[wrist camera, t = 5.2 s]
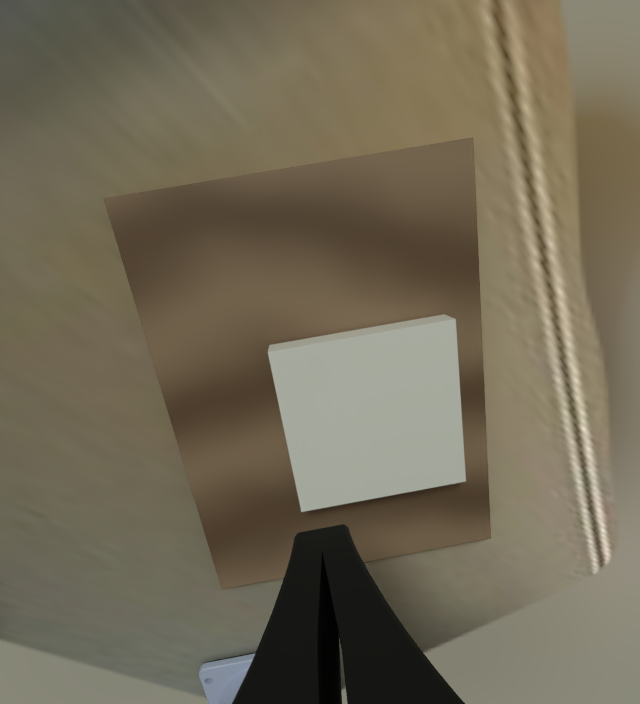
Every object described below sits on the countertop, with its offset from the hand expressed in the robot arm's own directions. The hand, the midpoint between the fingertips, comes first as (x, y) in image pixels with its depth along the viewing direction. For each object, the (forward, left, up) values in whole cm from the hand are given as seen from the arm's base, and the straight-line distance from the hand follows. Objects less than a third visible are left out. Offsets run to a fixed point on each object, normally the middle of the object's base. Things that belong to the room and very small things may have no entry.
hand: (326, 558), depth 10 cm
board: (+1, -1, -9) cm, 10 cm away
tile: (0, +1, -8) cm, 8 cm away
